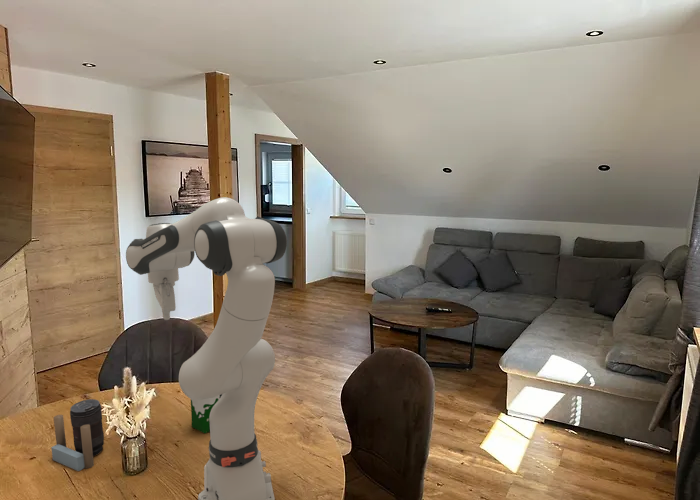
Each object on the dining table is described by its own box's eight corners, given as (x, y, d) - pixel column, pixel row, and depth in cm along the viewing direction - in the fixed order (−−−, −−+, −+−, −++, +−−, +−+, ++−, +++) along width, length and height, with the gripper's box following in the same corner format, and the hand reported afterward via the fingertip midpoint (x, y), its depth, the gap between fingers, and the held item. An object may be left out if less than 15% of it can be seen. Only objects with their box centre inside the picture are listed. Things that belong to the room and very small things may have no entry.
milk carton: (209, 417, 168) (206, 360, 165) (227, 424, 163) (224, 367, 160) (187, 427, 161) (183, 369, 158) (204, 436, 156) (201, 376, 153)
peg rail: (63, 451, 148) (59, 414, 146) (95, 464, 141) (91, 425, 139) (49, 458, 144) (45, 420, 142) (81, 472, 137) (77, 432, 135)
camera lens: (68, 455, 146) (63, 407, 143) (94, 441, 153) (89, 396, 150) (85, 462, 142) (80, 414, 139) (111, 448, 149) (106, 402, 146)
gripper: (179, 280, 145) (182, 326, 147) (169, 268, 163) (172, 309, 165) (156, 282, 142) (159, 329, 144) (149, 270, 160) (152, 312, 162)
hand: (166, 318), depth 154 cm, fingers closed
